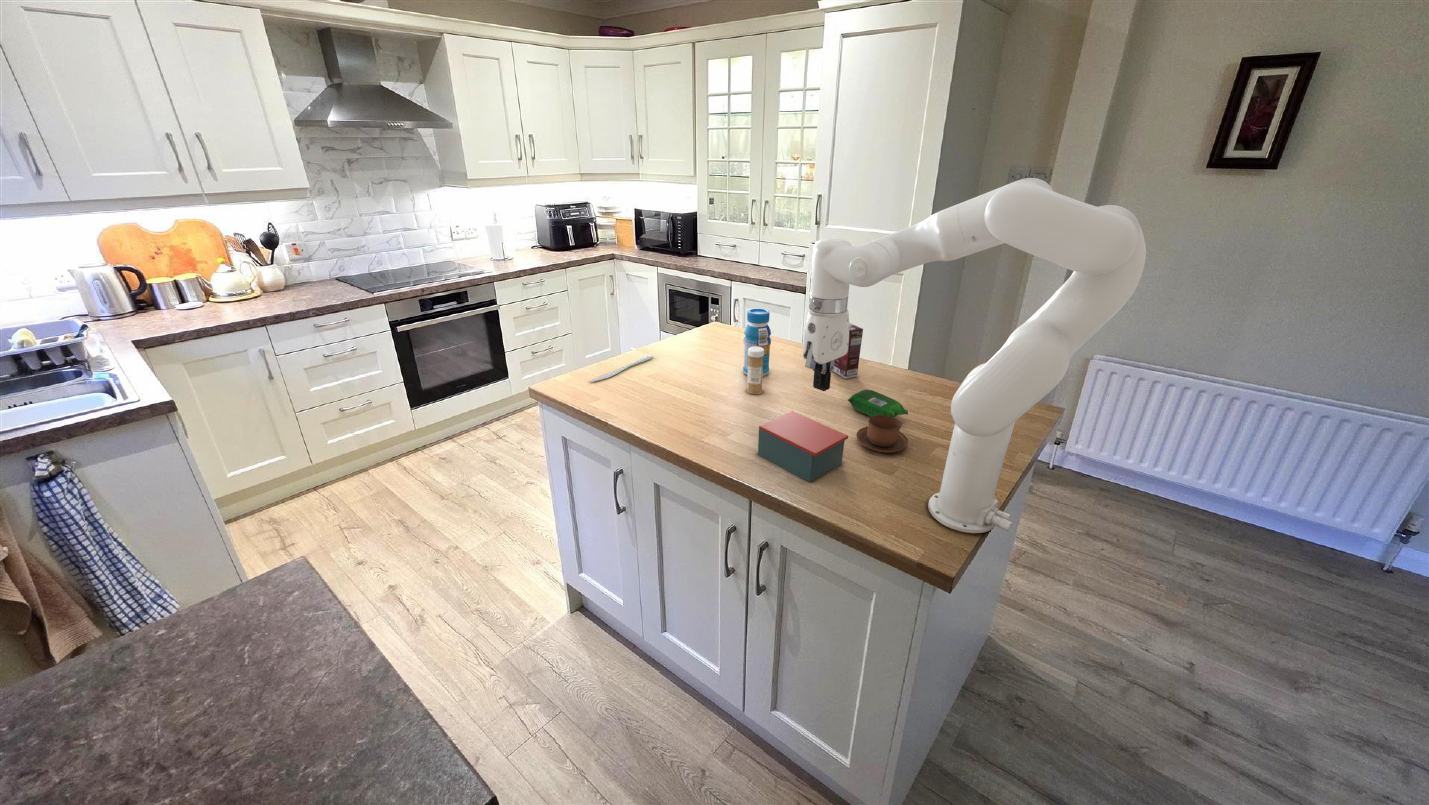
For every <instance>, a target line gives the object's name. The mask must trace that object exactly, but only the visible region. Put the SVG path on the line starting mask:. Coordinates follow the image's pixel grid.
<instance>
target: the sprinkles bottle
mask: <svg viewBox="0 0 1429 805" xmlns="http://www.w3.org/2000/svg"><path fill="white" fill-rule="evenodd" d="M763 356H764V349H763V348H762V347H757V346H754V347H750V348H749V349H748V375H747V389H746V392H747V393H748V394H750V395H760V394H762V392H763V382H764V380H763V378H764V376H763Z"/></svg>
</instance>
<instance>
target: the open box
mask: <svg viewBox="0 0 1429 805" xmlns="http://www.w3.org/2000/svg"><path fill="white" fill-rule="evenodd" d="M757 440H758V441H757V455H759V456H761V457H763V458H764V459H766V460H768V461H769V462H771V463H774V464H775V465H777V466H779V467H781V468H783V469H785V470H786V471H788V472H790V473H792V474H794V475H796V476H797V477H799V478H801V479H803V480H805V481H806V482H809V483H810V482H812V481H814V480H816V479H817V478H819V477H821V476H822V475H824V474H826V473H827V472H829V471H831V470H834V468H836V467H838V466H839V465H841V464H842V463H843V456H844V448H845V441H846V440H844V441H842V442H841V443H839V444H837V445H835V446H833V447H832V448H830V449H828V450H826V451H824V452H823V453H821V454H819V455H817V456H813V455H811V454H809V453H807V452H805V451H803V450H801V449H799V448H797V447H795V446H793V445H791V444H789V443H787V442H785V441H783V440H781V439H779V438H777V437H775V436H773V435H771V434H769V433H767V432H765V431H763V430H761V429H759V428H758V439H757Z"/></svg>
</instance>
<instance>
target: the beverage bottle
mask: <svg viewBox="0 0 1429 805" xmlns="http://www.w3.org/2000/svg"><path fill="white" fill-rule="evenodd" d="M746 321H747V323H748V324H746V327H745V328H744V332H743V333H744V338H743V367H742V371H743V373H744V374H745V375H747V376H748V349H749V348H750V347H754V346H757V347H762V348H763V349H764V356H763V377H764V376H766V375H768V374H769V373H770V354H771V352H770V351H771V344H772V339H771V335H772V331H771V328H770V325H769V324H768V323H769V322H770V311H769V310H768V309H766V308H761V307H759V308H750V309H748V310H747V313H746Z"/></svg>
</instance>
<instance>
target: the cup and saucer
mask: <svg viewBox="0 0 1429 805" xmlns="http://www.w3.org/2000/svg"><path fill="white" fill-rule="evenodd" d="M901 428H902V420H899V419H898V418H896V417H895V418H893V417H890V416H886V415H875V416H872V417H871V416H869V418H868V422H867V426H864V427H861V428H860V429H859V430H857V432H856V439H857V441H858V442H859V443H860V444H861V445H862V446H863V447H865V448H866V449H868V450H871V451H875V452H878V453H885V454H886V453H888V454H891V453H897V452H900V451H902V450H904V449H905V448H907V446H908V444H909V439H908V437H907V436H906V434H904V433H903V432H902V431H900V429H901Z"/></svg>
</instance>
